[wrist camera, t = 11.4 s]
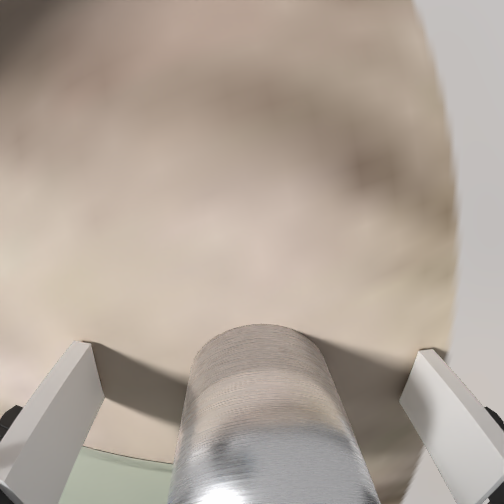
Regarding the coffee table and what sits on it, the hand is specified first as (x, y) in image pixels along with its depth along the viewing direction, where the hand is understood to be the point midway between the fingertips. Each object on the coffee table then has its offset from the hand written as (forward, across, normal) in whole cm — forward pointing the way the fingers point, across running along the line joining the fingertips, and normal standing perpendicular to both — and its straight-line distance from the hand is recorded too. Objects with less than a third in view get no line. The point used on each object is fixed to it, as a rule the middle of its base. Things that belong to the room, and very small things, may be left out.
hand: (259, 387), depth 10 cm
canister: (0, 0, 0) cm, 0 cm away
